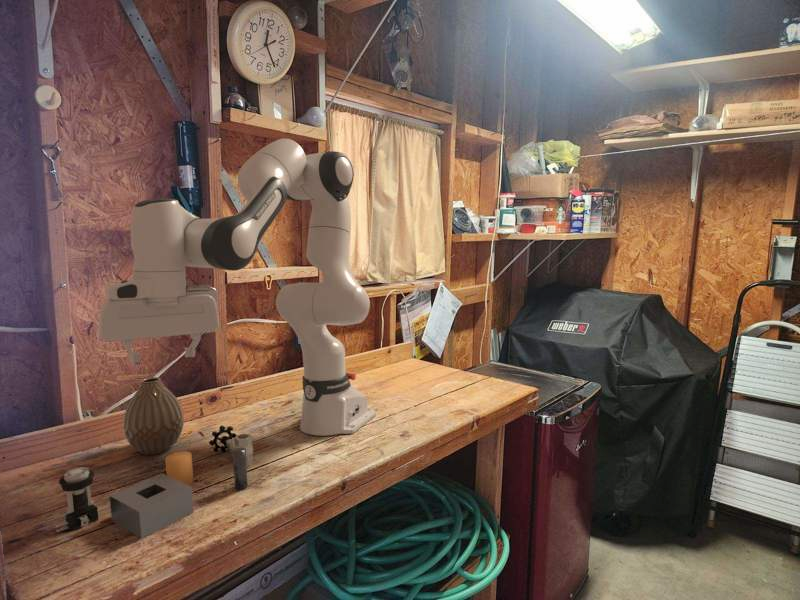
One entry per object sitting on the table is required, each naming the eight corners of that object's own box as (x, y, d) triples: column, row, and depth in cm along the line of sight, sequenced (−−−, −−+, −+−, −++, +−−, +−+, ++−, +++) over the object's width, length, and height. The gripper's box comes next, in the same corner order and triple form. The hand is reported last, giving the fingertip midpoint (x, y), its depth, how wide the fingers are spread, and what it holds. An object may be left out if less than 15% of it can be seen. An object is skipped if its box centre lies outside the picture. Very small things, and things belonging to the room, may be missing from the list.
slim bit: (242, 482, 105) (240, 446, 104) (250, 485, 103) (248, 449, 102) (231, 487, 103) (229, 451, 101) (240, 491, 101) (237, 454, 100)
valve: (262, 461, 114) (235, 447, 122) (260, 434, 113) (233, 421, 121) (236, 472, 110) (209, 456, 118) (234, 443, 109) (208, 429, 117)
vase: (174, 433, 131) (168, 369, 129) (193, 448, 122) (188, 379, 119) (119, 448, 122) (112, 380, 120) (136, 466, 113) (129, 391, 110)
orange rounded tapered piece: (184, 475, 108) (182, 449, 107) (198, 481, 105) (196, 455, 104) (162, 485, 104) (160, 458, 103) (176, 492, 101) (174, 464, 100)
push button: (62, 539, 86) (56, 485, 84) (51, 528, 89) (44, 476, 88) (104, 521, 91) (98, 470, 90) (91, 512, 94) (86, 462, 93)
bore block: (163, 496, 99) (161, 473, 99) (193, 511, 94) (191, 486, 93) (111, 521, 91) (109, 495, 90) (141, 539, 86) (139, 512, 85)
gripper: (213, 283, 100) (215, 350, 102) (95, 288, 88) (99, 364, 90) (222, 285, 95) (225, 356, 97) (98, 290, 83) (103, 371, 85)
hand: (163, 360), depth 93 cm, fingers open, 8 cm apart
